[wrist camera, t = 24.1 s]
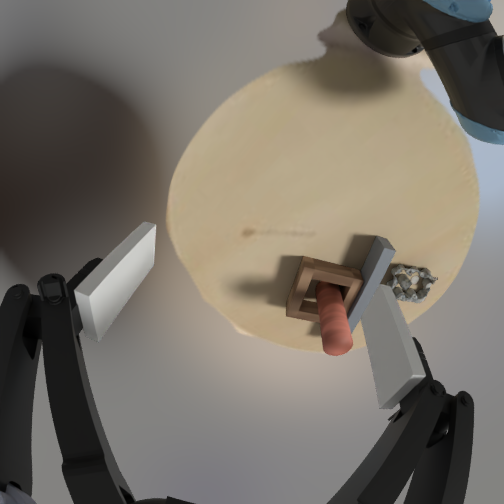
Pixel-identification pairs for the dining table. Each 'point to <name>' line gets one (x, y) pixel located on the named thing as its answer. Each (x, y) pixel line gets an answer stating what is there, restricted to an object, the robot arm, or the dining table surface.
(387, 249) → the backstop wall
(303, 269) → the socket block
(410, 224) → the dining table surface
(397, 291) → the grey rough frame
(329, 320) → the dowel
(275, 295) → the dining table surface
